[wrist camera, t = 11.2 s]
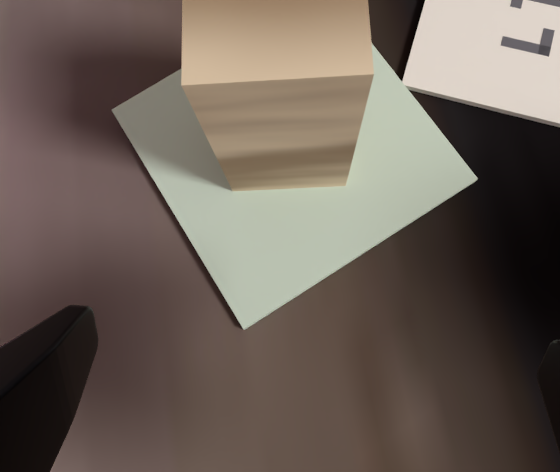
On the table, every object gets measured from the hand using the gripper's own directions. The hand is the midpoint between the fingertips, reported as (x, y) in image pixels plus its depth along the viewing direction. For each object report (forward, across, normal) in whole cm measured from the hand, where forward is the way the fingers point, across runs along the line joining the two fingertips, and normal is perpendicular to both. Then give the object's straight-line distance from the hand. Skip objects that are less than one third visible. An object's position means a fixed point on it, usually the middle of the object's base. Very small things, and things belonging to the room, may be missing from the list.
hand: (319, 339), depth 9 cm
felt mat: (+14, +1, +1) cm, 14 cm away
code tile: (+18, -10, -5) cm, 21 cm away
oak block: (+14, +1, +1) cm, 14 cm away
